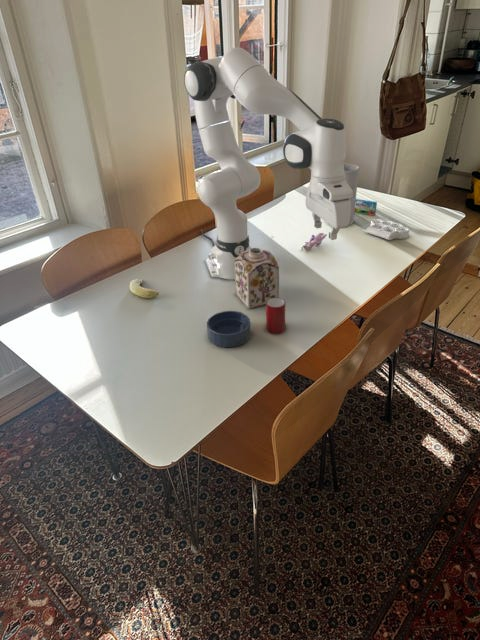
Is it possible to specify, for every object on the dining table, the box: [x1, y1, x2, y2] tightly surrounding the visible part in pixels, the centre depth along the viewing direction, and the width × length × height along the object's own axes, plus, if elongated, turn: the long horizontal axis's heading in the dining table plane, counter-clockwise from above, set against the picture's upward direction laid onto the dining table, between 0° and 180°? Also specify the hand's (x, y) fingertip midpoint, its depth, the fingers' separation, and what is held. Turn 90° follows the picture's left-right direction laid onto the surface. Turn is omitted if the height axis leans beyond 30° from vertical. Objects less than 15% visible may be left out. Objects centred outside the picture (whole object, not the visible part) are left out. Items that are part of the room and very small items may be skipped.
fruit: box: [129, 278, 160, 299], centre depth 165 cm, size 7×15×3 cm, turn 33°
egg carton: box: [365, 218, 410, 241], centre depth 200 cm, size 3×18×15 cm
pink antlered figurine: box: [301, 232, 328, 252], centre depth 191 cm, size 6×6×15 cm
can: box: [265, 297, 286, 335], centre depth 141 cm, size 6×6×10 cm
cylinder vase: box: [344, 163, 360, 226], centre depth 207 cm, size 12×12×25 cm
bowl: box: [206, 310, 252, 348], centre depth 140 cm, size 13×13×5 cm
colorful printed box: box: [354, 198, 378, 216], centre depth 220 cm, size 12×2×6 cm, turn 58°
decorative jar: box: [234, 247, 280, 310], centre depth 154 cm, size 12×12×18 cm
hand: (325, 233), depth 131 cm, fingers open, 8 cm apart
